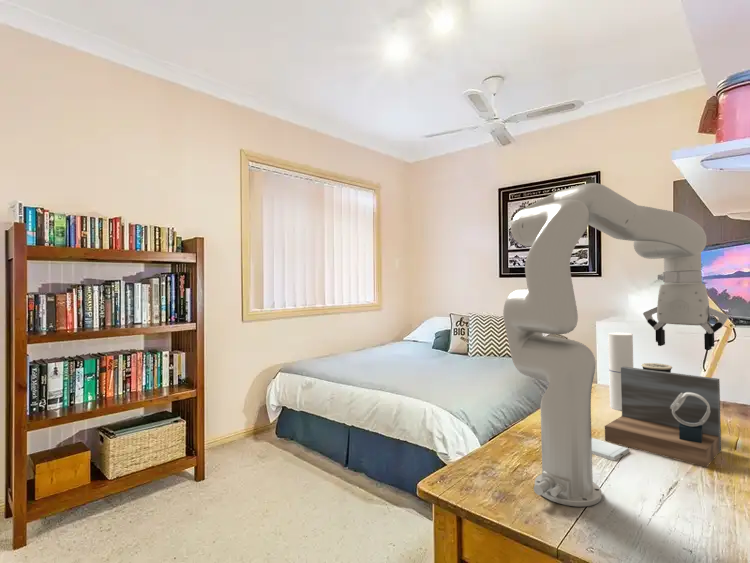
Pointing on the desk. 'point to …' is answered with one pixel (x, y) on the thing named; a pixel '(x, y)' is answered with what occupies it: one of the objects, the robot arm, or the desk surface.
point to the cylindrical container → (618, 364)
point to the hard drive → (608, 449)
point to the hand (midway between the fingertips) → (684, 347)
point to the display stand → (666, 414)
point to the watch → (690, 429)
